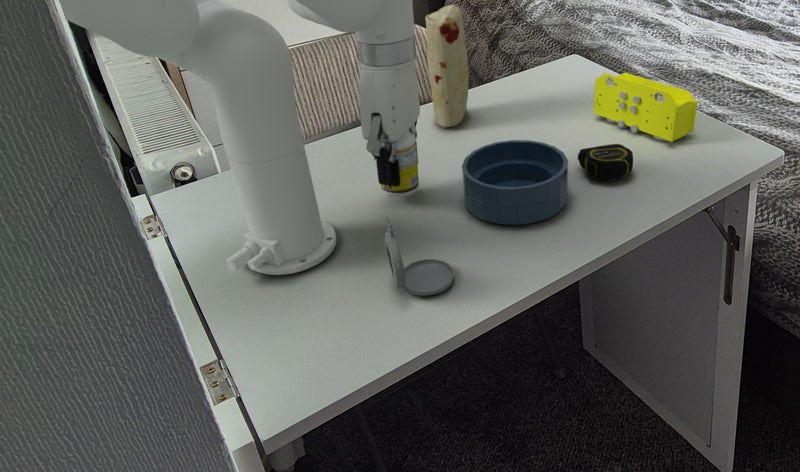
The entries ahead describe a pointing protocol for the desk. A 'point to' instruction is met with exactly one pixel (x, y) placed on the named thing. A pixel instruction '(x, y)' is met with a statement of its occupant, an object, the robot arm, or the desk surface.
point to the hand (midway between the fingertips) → (398, 173)
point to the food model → (447, 65)
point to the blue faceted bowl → (515, 182)
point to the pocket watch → (417, 270)
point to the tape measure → (606, 161)
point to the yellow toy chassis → (645, 105)
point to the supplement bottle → (404, 165)
